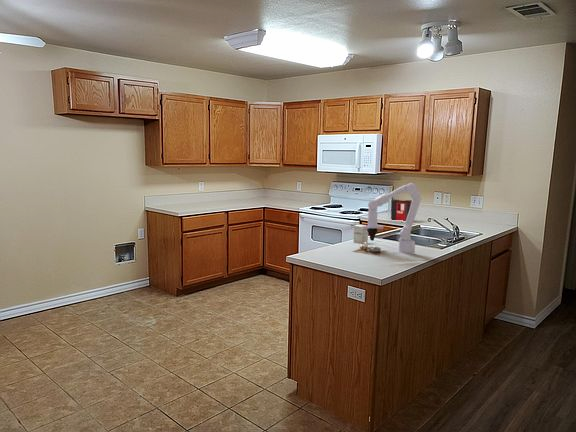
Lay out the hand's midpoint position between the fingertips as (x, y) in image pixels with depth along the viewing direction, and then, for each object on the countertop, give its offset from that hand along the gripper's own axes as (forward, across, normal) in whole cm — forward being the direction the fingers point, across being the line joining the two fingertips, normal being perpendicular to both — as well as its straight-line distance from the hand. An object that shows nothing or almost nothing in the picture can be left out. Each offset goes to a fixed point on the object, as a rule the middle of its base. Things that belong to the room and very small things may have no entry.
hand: (372, 240), depth 278 cm
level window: (+6, -8, +1) cm, 10 cm away
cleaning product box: (+8, +86, +110) cm, 140 cm away
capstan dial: (+6, -3, -4) cm, 8 cm away
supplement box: (+8, +5, +26) cm, 28 cm away
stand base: (+7, -3, -4) cm, 9 cm away
